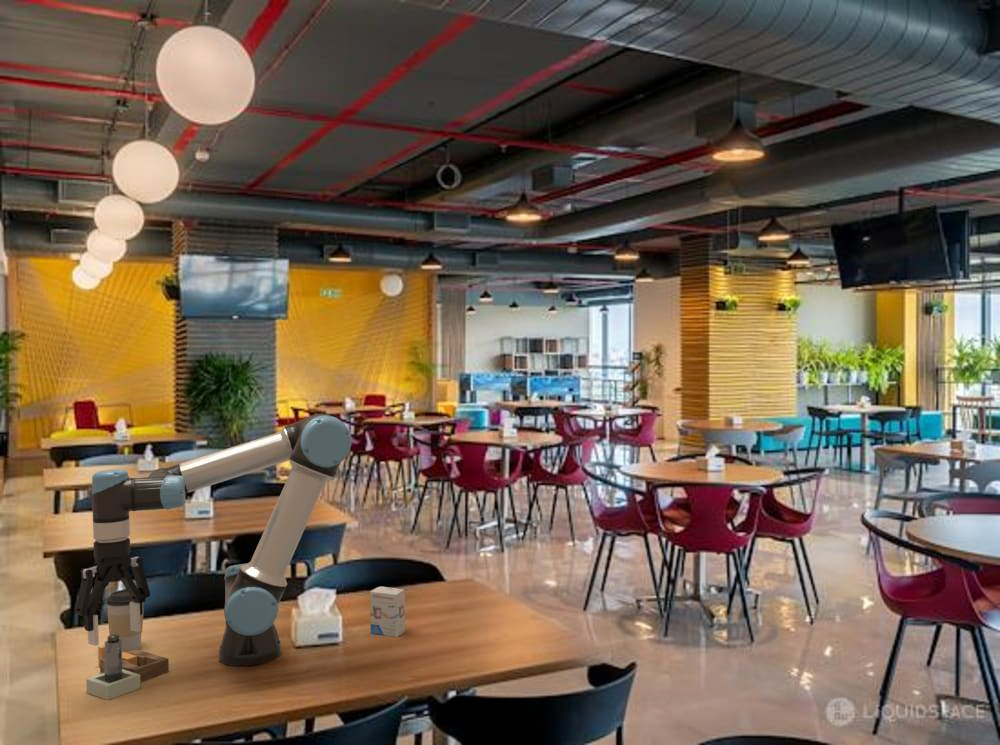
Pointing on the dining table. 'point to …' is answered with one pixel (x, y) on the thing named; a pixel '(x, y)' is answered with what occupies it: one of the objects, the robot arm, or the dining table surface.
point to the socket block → (143, 664)
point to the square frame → (113, 685)
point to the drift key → (125, 656)
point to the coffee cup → (123, 620)
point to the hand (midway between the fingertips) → (115, 637)
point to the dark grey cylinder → (113, 659)
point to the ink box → (387, 611)
